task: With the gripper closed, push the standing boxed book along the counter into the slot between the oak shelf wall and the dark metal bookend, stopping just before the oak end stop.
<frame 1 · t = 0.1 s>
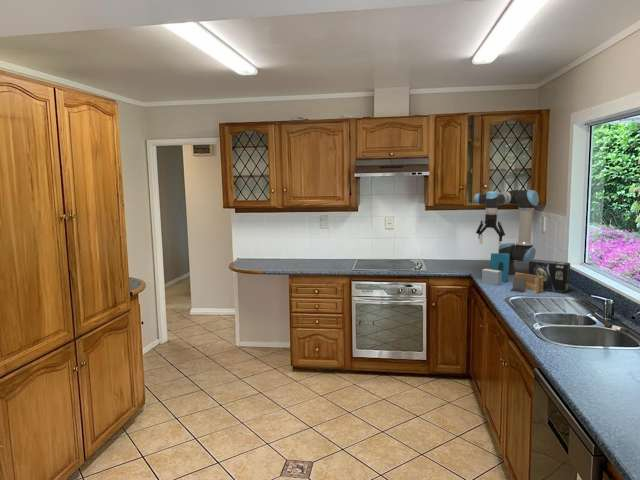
hand: (489, 244, 317), 28 cm above the worktop, fingers open, 13 cm apart
box: (547, 290, 306), on the worktop
book: (491, 284, 322), on the worktop
bookend: (518, 290, 303), on the worktop
shelf: (525, 290, 304), on the worktop
block: (498, 281, 331), on the worktop
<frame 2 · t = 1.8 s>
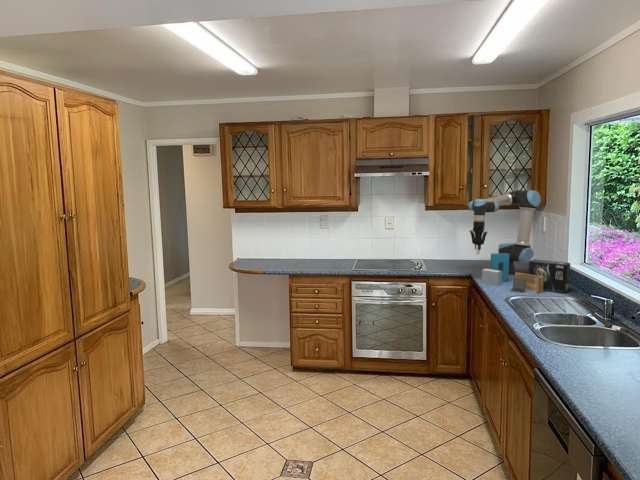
hand: (477, 254, 328), 20 cm above the worktop, fingers closed
nothing on the worktop moved.
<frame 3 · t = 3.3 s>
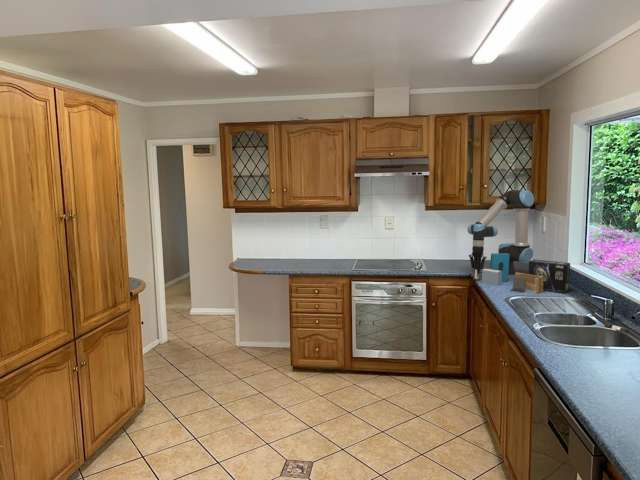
hand: (476, 278, 331), 2 cm above the worktop, fingers closed
nothing on the worktop moved.
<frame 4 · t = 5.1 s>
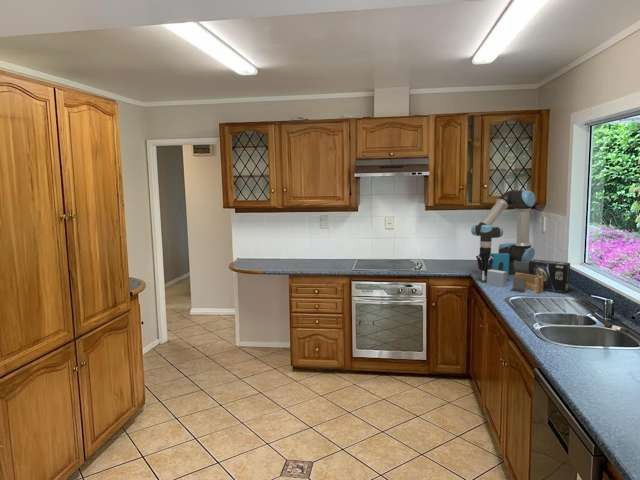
hand: (483, 279, 326), 2 cm above the worktop, fingers closed
book: (496, 285, 319), on the worktop, touching hand
everything else where it was.
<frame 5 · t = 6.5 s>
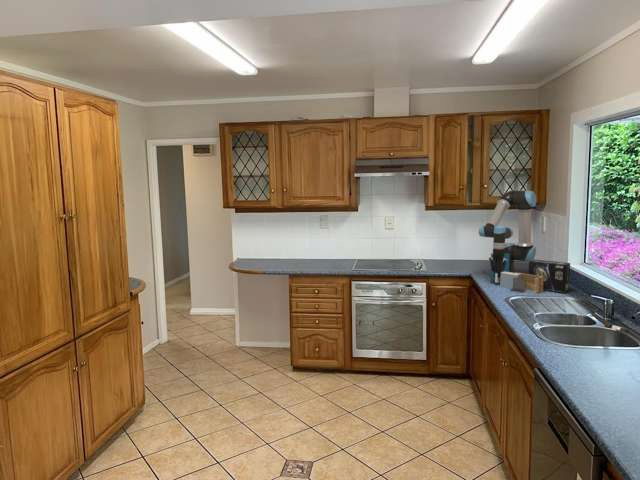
hand: (497, 282, 319), 2 cm above the worktop, fingers closed
book: (510, 287, 312), on the worktop, touching hand
everything else where it was.
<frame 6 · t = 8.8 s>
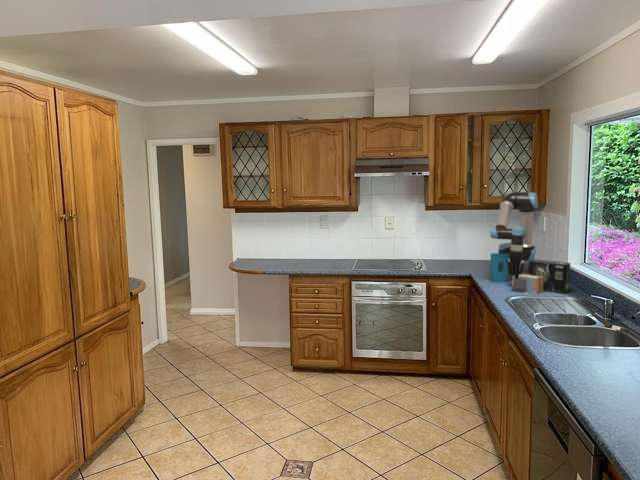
hand: (514, 285, 310), 2 cm above the worktop, fingers closed
book: (528, 290, 303), on the worktop, touching hand, shelf
everything else where it was.
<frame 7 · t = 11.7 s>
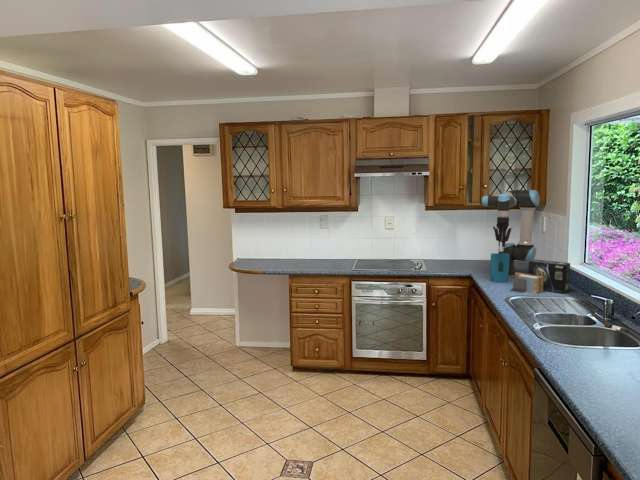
hand: (501, 251, 315), 24 cm above the worktop, fingers closed
book: (528, 291, 303), on the worktop
everything else where it was.
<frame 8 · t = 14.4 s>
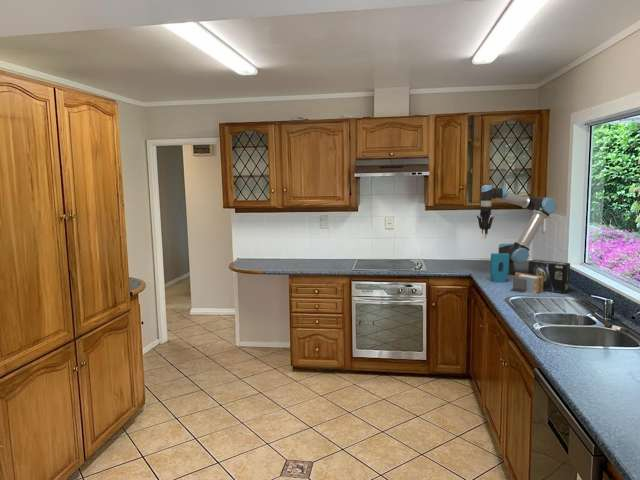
hand: (484, 238, 341), 29 cm above the worktop, fingers closed
nothing on the worktop moved.
at the end: book inside the target area (1.6 cm from its centre), on the worktop; book tilted 0° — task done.
